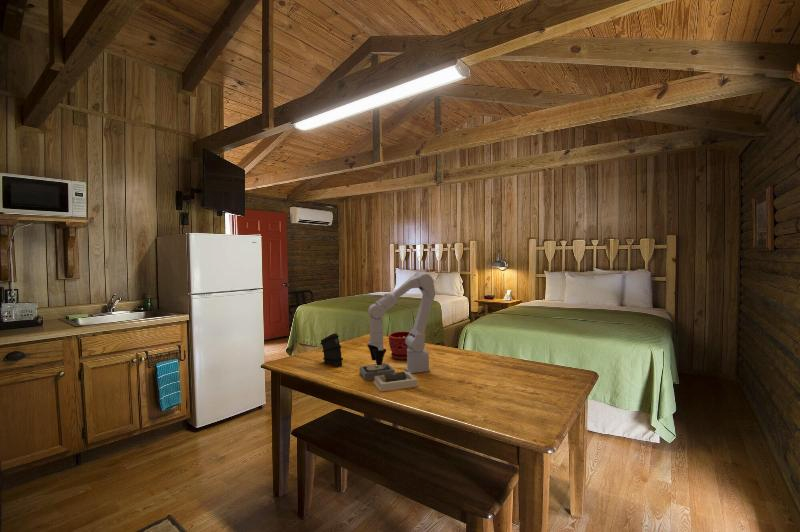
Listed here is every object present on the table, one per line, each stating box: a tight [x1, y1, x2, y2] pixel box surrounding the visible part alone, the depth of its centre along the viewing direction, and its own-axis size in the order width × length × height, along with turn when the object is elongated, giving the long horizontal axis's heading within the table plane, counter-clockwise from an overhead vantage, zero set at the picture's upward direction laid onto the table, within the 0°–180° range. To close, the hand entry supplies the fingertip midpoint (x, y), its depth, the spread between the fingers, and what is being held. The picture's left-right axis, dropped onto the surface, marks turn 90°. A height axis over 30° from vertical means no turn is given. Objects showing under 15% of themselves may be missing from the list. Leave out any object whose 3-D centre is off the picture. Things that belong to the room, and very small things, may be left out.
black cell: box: [384, 371, 406, 382], centre depth 156 cm, size 9×4×4 cm, turn 109°
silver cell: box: [366, 362, 387, 373], centre depth 168 cm, size 9×4×4 cm
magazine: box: [319, 332, 344, 368], centre depth 185 cm, size 4×13×15 cm, turn 45°
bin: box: [359, 363, 396, 381], centre depth 168 cm, size 13×10×3 cm
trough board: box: [372, 371, 419, 392], centre depth 156 cm, size 16×10×3 cm, turn 109°
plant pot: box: [388, 331, 410, 361], centre depth 194 cm, size 13×13×12 cm
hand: (376, 362), depth 168 cm, fingers open, 7 cm apart
